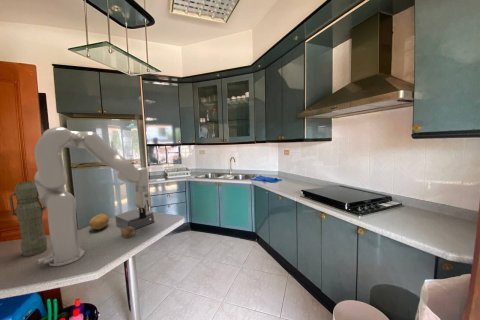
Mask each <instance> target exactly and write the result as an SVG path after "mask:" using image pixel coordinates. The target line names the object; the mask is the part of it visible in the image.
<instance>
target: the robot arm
mask: <svg viewBox="0 0 480 320" xmlns="http://www.w3.org/2000/svg"><path fill="white" fill-rule="evenodd" d="M64 148H66V149H67V148H69V149H84V150H85V149H86V150H87V152H88V153H90V154H91V155H92V156H93V157H94V158H95V159H96V160H97V161H98V162H99V163H101V164H103V165H105V166H107V167H109V168H112V169H113V170H115V171H116V172H117V174H116V177H117V178H118V180H120V181H122V182H125V183H131V184H133V185H134V186H133V187H134V206H135V207H136V208H137V209H138V210H139V218H140V219H144V218H146V211H149V207H151V196H150V191H149V173H148V171H149V170H148V168H147V167H145V166H144V167H143V166H142V167H140V166H139V167H135V166H134V164H132V163H131V161H129V160H128V159H126V158H125V157H123V156H122V155H121V154H119V153H118V152H116V151H115V150H114V149H113V148H112V147H111V146H110V145H109V144H108V143H107V141H105V140H104V139H103V138H102V137H101V136H99V134H98V133H97V132H94V131H89V130H87V131H86V130H85V131H76V130H75V131H74V130H70V129H68V128H66V127H62V126H56V127H51V128H48V129H46V130H44V132H43V133H42V135H41V136H40V138H39V139H38V140H37V142H36V144H35V147H34V159H35V162H36V163H35V164H36V169H37V172H36V173H35V175H34V182H35V184H36V188H37V191H38V195H39V197H38V198H39V201H40V203H41V204H42V207H43V206H44V207H45V208H46V211H47V222H48V223H47V224H48V230H49V238H50V245H51V251H50V253H49V254H48V255H47V256H44V257H41V258H38V259H37V262H38V265H40V264H42V263H43V264H44V265H45V264H48V265H49V266H51V267H60V266H65V265H69V264H72V263H73V262H76V261H78V260H80V259H81V258H83V256H84V255H85V249H82V248H80V239H79V231H78V222H77V214H76V213H77V212H76V211H77V208H76V207H77V201H76V198H75V196H74V195H73V194H72V193H70V192H68V191H66V187H65V185H66V184H67V181H68V174H67V171H66V167H65V164H64V160H63V150H64Z"/></svg>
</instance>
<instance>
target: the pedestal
mask: <svg viewBox="0 0 480 320" xmlns="http://www.w3.org/2000/svg"><path fill="white" fill-rule="evenodd" d="M120 233H121V238H124V239H129V238H131V237H134V236H136V229H135V228H133V227H131V226H129V227H127V228H124V229H123V228H121V230H120Z"/></svg>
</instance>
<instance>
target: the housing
mask: <svg viewBox="0 0 480 320" xmlns="http://www.w3.org/2000/svg"><path fill="white" fill-rule="evenodd" d="M151 215H154V213H153V212H152V211H149V210H146V216H147V217H148V216H151ZM137 219H140V218H139V210H138V208H137V209H134V210H131V211H127V212H124V213H121V214H117V215H115V224H116V227H119V228H121V229H124V228H127V227H129V223H130V222H131V221H134V220H137Z"/></svg>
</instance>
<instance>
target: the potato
mask: <svg viewBox="0 0 480 320" xmlns="http://www.w3.org/2000/svg"><path fill="white" fill-rule="evenodd" d="M108 223H109V216H108V215H107V214H105V213H98V214H97V215H95V216H93V217H92V218H91V219H90V220H89V222H88V225H89V227H90V228H91V229H93V230H97V231H99V230H101V229H103V228H105V227H106V226H107V224H108Z"/></svg>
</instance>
